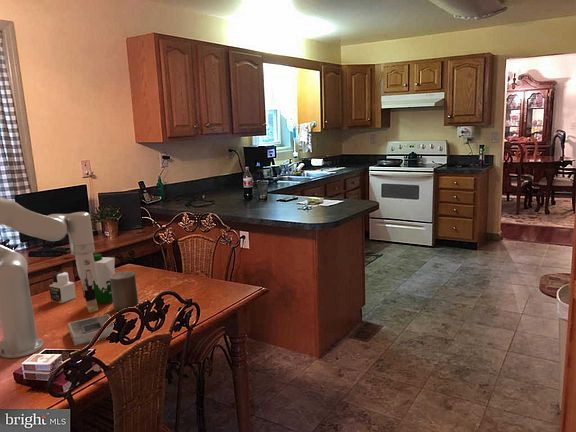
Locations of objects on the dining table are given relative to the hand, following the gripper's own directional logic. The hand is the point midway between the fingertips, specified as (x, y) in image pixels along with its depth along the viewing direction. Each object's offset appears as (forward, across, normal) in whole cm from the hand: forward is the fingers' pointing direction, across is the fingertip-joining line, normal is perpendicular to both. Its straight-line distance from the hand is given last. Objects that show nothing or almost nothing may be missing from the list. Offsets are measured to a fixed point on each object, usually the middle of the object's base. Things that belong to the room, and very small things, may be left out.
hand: (89, 298), depth 162 cm
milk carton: (+14, +32, -10) cm, 36 cm away
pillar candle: (+14, +19, -16) cm, 28 cm away
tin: (+13, 0, 0) cm, 13 cm away
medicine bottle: (+13, +45, +4) cm, 47 cm away
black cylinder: (+5, 0, -1) cm, 5 cm away
